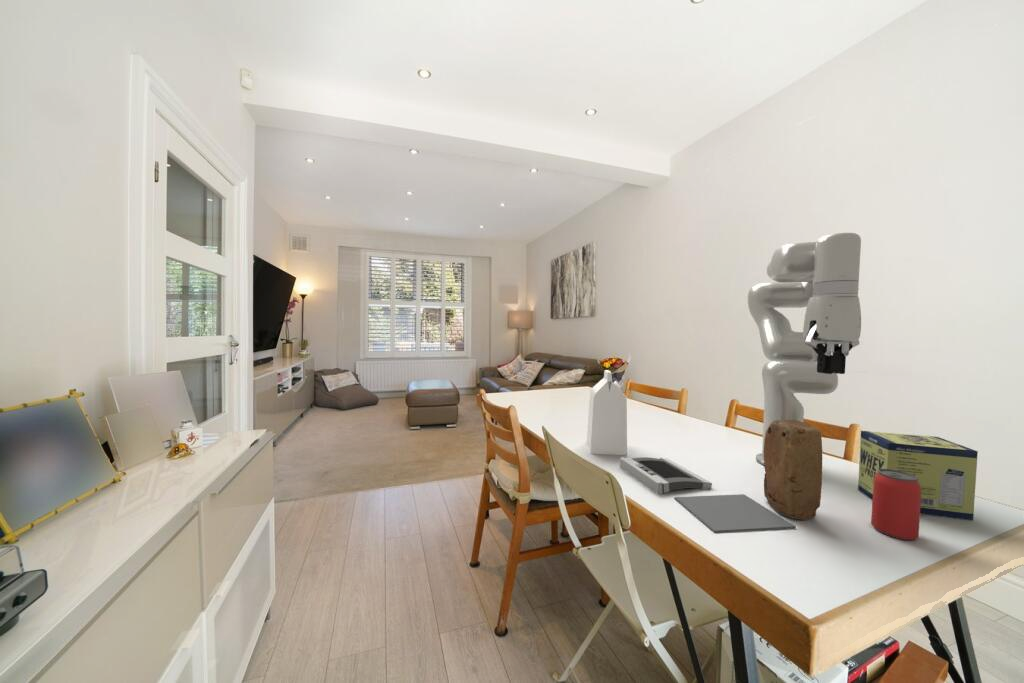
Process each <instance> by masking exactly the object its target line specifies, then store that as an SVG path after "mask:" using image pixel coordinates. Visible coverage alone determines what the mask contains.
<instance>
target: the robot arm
mask: <svg viewBox="0 0 1024 683" xmlns="http://www.w3.org/2000/svg"><path fill="white" fill-rule="evenodd" d="M861 246H862V238H861V236H860V235H859V234H857V233H855V232H839V233H838V232H837V233H832V234H827V235H824V236H822V237H819V238H818V239H817V240H816V241H809V242H795V243H794V242H793V243H788V244H784V245H782V246H781V245H780V246H779V247H777V248H776V249H775V250H774V252H773V254H772V257H771V259H770V262H769V263H768V265H767V266H766V274H767V276H768V277H769V278H770V279H771V280H773V281H772V282H771V281H770V282H762V283H758V284H756V285H753V286H752V287H751V288H750V289H749V291H748V294H747V304H748V305H747V306H748V310H749V313H750V315H751V317H752V319H753V320H754V322H755V323H756V324H755V325H757V328H758V331H759V332H758V333H759V337H760V343H761V348H762V352H763V354H764V356H765V358H766V359H767V360H769V361H768V362H766V363H764V365H763V366H762V370H761V377H762V385H763V394H764V400H763V401H764V403H763V425H762V426H763V427H762V430H763V431H762V450H761V453H757V454H756V455H755V461H757V463H759V464H760V465H762V466H764V440H765V434H766V430H767V428H768V427H769V425H770V424H771V423H772V422H773V421H775V420H796V421H800V422H804V420H805V419H804V416H805V410H804V406H803V404H802V403H801V402H800V400H799V399H798V398H797V397H796V395H795V394H812V395H828V394H831V393H834V392H835V391H836V390H837V388H838V385H839V376H838V374H839V375H845V373H846V362H847V361H846V359H847V358H846V357H848V356H849V354H850V351H851V350H852V349H853V348H855V347H858V346H859V345H860V337H861V331H862V311H861V303H860V298H859V289H860V288H859V286H860V285H859V283H860V266H861V265H860V263H861V248H862V247H861ZM777 308H778V309H781V308H783V309H785V308H787V309H788V308H789V309H790V308H791V309H793V308H794V309H796V308H798V309H800V308H805V314H804V319H803V328H802V331H794V330H792V325H791V322H790V320H789V319H788V318H787V317H786V315H784V314H783V313H782V312H780V311H778V310H776V309H777Z"/></svg>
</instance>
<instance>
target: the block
mask: <svg viewBox="0 0 1024 683" xmlns="http://www.w3.org/2000/svg"><path fill="white" fill-rule="evenodd" d="M763 467H764V471H765V472H764V478H763V479H764V480H763V494H764V498H766V501H767V502H768V504H769V505H770V506H771V507H772V508H773V509H774V510H775V511H777V513H779V514H781V515H783V516H786V517H788V518H791V519H795V520H801V521H802V520H803V521H807V520H808V521H809V520H810V519H811V518H812V519H813V518H815V517H816V515H817V510H818V509H819V508H820V506H821V498H822V488H823V486H822V484H823V440H822V432H821V430H820V429H819V428H817V427H815V426H813V425H811V424H809V423H807V422H804V421H803V422H800V421H796V420H775V421H773V422H772V423H771V424H770V425H769V427H768V428H767V430H766V434H765V440H764V465H763Z"/></svg>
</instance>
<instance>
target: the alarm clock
mask: <svg viewBox="0 0 1024 683" xmlns="http://www.w3.org/2000/svg"><path fill="white" fill-rule="evenodd" d="M619 467H620V469H622V470H623V471H624V472H626V473H627V474H629V475H630V476H632V478H634V479H635V480H637V481H638V482H640V483H642V485H643V486H645V487H647V488H648V489H649V488H650V489H649V490H650V491H652V490H653V491H652V492H653V493H655V494H656V493H657V494H656V495H658V494H659V495H663V493H664V494H666V493H670V491H676V490H682V489H701V488H702V490H709V488H711V489H712V486H713V483H712V482H710V481H709V480H707V479H706V478H703V477H702V476H700V475H698V474H696V473H694V472H693V471H691V470H689V469H687V468H685V467H683V466H682V465H679V464H678V463H676V462H674V461H672V460H671V459H668V458H666V457H660V458H657V457H633V458H631V457H628V458H626V457H624V456H622V457H619Z"/></svg>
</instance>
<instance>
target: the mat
mask: <svg viewBox="0 0 1024 683" xmlns="http://www.w3.org/2000/svg"><path fill="white" fill-rule="evenodd" d="M674 500H675V501H676V502H678V503H679V504H680V505H681V506H682V507H683V508H685V510H686V511H688V512H689V513H691V515H693V516H694V517H695V518H696V519H697V520H699V521H700V522H701V523H702V524H703V525H704V526H705V527H707V528H708V529H709V530H711V532H713V533H733V532H751V531H752V532H753V531H768V530H769V531H770V529H772V530H788V529H787V528H791V529H796V528H797V526H796V525H794V524H793V523H791V522H790V521H788V520H786V519H785V518H783V517H781V516H780V515H779V514H777V513H775V512H773V511H772V510H770V509H768V508H767V507H766V506H764V505H762V504H760V503H759V502H757V501H756V500H754V499H752V498H751V497H749V496H747V495H746V494H744V493H743V494H742V493H741V494H721V495H720V494H719V495H717V494H716V495H696V496H695V495H694V496H674Z"/></svg>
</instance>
